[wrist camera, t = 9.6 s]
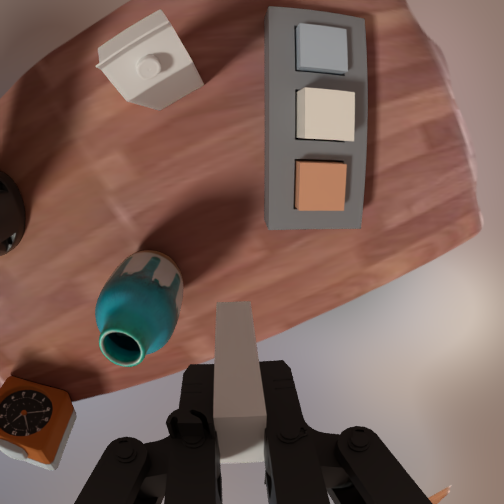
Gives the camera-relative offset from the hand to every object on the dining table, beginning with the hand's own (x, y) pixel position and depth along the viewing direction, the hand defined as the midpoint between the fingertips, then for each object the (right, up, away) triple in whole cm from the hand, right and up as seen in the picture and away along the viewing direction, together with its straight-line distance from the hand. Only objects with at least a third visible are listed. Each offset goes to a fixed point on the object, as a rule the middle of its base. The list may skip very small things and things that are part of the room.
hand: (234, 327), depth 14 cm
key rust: (+9, +14, +29) cm, 33 cm away
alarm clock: (-49, -31, +43) cm, 72 cm away
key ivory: (+9, +21, +24) cm, 33 cm away
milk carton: (-10, +27, +24) cm, 38 cm away
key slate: (+9, +30, +23) cm, 39 cm away
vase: (-14, 0, +34) cm, 37 cm away
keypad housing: (+9, +22, +27) cm, 36 cm away
